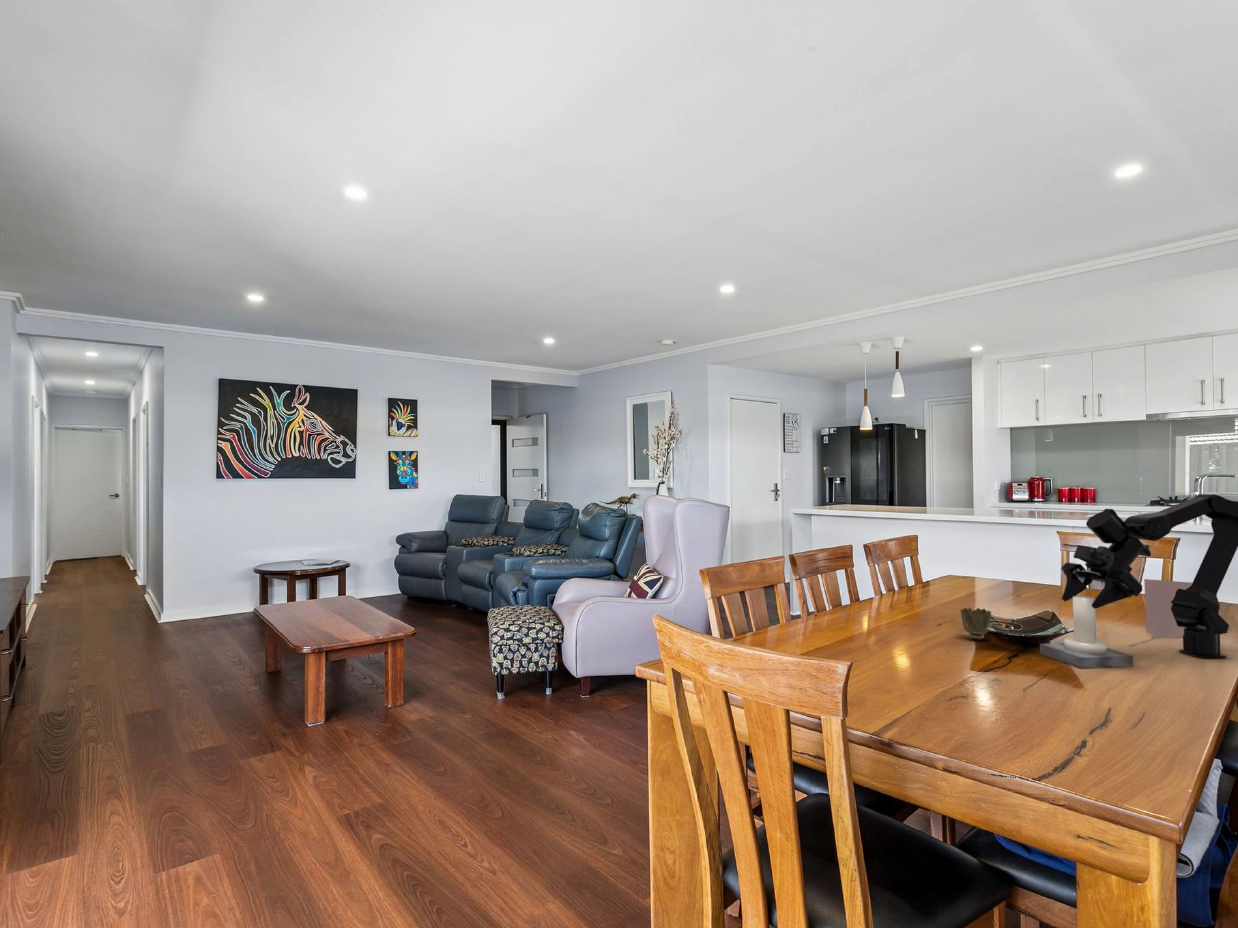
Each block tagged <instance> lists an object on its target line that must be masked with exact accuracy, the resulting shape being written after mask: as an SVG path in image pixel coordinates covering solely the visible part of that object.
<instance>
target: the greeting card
mask: <svg viewBox="0 0 1238 928" xmlns="http://www.w3.org/2000/svg"><path fill="white" fill-rule="evenodd" d="M1192 583H1193V582H1190V581H1187V582H1186V581H1176V580H1161V579H1150V578H1148V579H1147V578H1144V609H1145V611H1144V612H1145V614H1144V615H1145V633H1146V634H1148V633H1149V634H1152V638H1153V637H1154V638H1153V639H1183V635H1184V628H1185V627H1179V626H1177V623H1176V621H1175V618H1174V616H1173V613H1172V612H1171V606H1172V604H1173V603H1171V601H1172V600H1173V599H1174V597H1175V593H1176V591H1177V590H1178V589H1184V590H1186V589H1187V588H1189V587H1190V586H1191V585H1192Z"/></svg>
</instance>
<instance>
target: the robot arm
mask: <svg viewBox="0 0 1238 928" xmlns="http://www.w3.org/2000/svg"><path fill="white" fill-rule="evenodd" d="M1202 516H1205V517H1207V518H1209V519H1211V522H1210V525H1211V529H1212V532H1213V536H1212V539H1211V541H1210V543H1209V545H1208V547H1207V549H1206V553H1205V555H1204V556H1203V559H1202V562H1200V565H1199V568H1198V569H1197V572H1196V574H1195V577H1194V578H1193V581H1192V582H1191V583H1192V585H1191V586H1190V587H1189V588H1187V589H1186V590H1184V589H1178V590H1177V591H1176V593H1175V597H1174V599H1173V600H1172V601H1171V603H1173V604H1172V606H1171V612H1172V613H1173V616H1174V618H1175V621H1176V623H1177V626H1179V627H1185V628H1184V635H1183V638H1182V649H1178V652H1179V653H1182V654H1186V655H1190V656H1192V657H1197V658H1200V659H1222V658H1223V659H1226V658H1227V655H1226V654H1223V653H1222V654H1221V635H1223V634H1227V633H1228V631H1229V627H1230V625H1229V623H1228V622H1227V621H1226V620H1225V619H1224V618H1223V617H1222V616H1221V615H1220V614H1219V612H1220V607H1221V606H1220V602H1219V598H1218V593H1219V589H1220V588H1221V585H1222V583H1223V581H1224V578H1226V577H1225V576H1226V574H1227V572H1228V570H1229V567H1230V566H1231V563H1232V561H1233V558H1234V557H1235V554H1236V552H1237V549H1238V502H1237V501H1234V500H1230V499H1227V498H1225V497H1223V496H1221V495H1218V494H1214V493H1211V494H1210V493H1199V494H1197V495H1195V496H1194V497H1193V498H1192V497H1191V498H1189V499H1187V500H1185V501H1182V502H1179V503H1176V504H1174V505H1171V506H1169V507H1167V508H1164V509H1162V510H1159V511H1156V512H1150V513H1141V514H1135V515H1130V516H1128V517H1127V518H1126V519H1125V520H1123V519H1122V518H1121V517H1120V516H1119V515H1118V514H1117V512H1116V511H1115V510H1114V509H1113V508H1104V510H1102V511H1100V512H1098V513H1096V514H1094V515H1092V516H1090V517H1088V519H1087V520H1086V527H1087V528H1088V529H1089V530H1090V531H1091V532H1092V533H1093V534H1094V535H1095V536H1096V537H1097V538H1098V540H1100V541H1101V542H1102V543H1104V544H1110V545H1109V546H1108V547H1107V546H1103V545H1099V546H1098V547H1093V546H1089V545H1088V546H1087V545H1081V544H1077V547H1076V549H1075V551H1074V554H1073V558H1074V559H1078V560H1081V561H1082V562H1085V564H1084V565H1085V567H1086V568H1088V569H1090V570H1087V569H1086V568H1085V567H1084V566H1083V565H1082V564H1080V563H1077V562H1076V563H1075V562H1065V563H1064V564H1063V565H1062V567H1061V568H1060V569H1061V570H1062V572H1063V574H1064V575H1065V576H1066V584H1065V587H1064V590H1063V594H1062V597H1061V599H1062V601H1063V602H1068V601H1070V600H1071V599H1073V596H1078V595H1079V594H1081V593H1082V592H1084V591H1085V590H1087V589H1088V587H1087V586H1090V585H1091V584H1092V583H1093V581H1094V582H1101V583H1103V584H1104V586H1103V588H1102V589H1101V591H1100V592H1099V593H1098V595H1097V596H1095V600H1094V602H1093V604H1092V607H1093V608H1095V609H1099V608H1101V607H1104V606H1106V605H1109V604H1113V603H1115V602H1118V601H1121V600H1124V599H1127V598H1128V599H1131V598H1132V597H1139V595H1140V594H1141V593H1142V592H1143V584H1141V582H1140V581H1139V580H1138V579H1137V578H1136V577H1135V576H1134V575H1133V574H1132V571H1133V568H1132V567H1131V565H1132V564H1133V563H1134V562H1135V561H1136V560H1137V558H1138V557H1139V556H1144V557H1151V556H1152V553H1151V550H1150V545H1149V544H1144V543H1143V542H1142V541H1141V540H1143V541H1150V542H1151V541H1153V542H1155V541H1160V540H1162V539H1163V538H1164V537H1166V536H1167V535H1170V533H1171V531H1172V529H1173V528H1175V527H1178V526H1179V525H1182V524H1185V523H1186V522H1190V521H1192V520H1194V519H1197V518H1200V517H1202Z"/></svg>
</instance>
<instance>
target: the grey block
mask: <svg viewBox="0 0 1238 928" xmlns="http://www.w3.org/2000/svg"><path fill="white" fill-rule="evenodd" d="M1039 653H1040V655H1042V656H1044V657H1045V656H1046V657H1048V658H1051V659H1052V660H1055V661H1059V662H1062V663H1064V664H1067V665H1070V666H1072V667H1076V668H1079V669H1104V668H1105V669H1107V668H1124V667H1125V668H1126V667H1127V668H1128V667H1129V666H1132V667H1134V657H1133V655H1132V654H1129V653H1125V652H1122V651H1119V650H1115V649H1113V648H1110V647H1107V653H1105V654H1086V653H1079V652H1074V651H1070V650H1067V649H1065V648H1064V642H1059V643H1058V642H1057V643H1056V642H1055V643H1040V644H1039Z"/></svg>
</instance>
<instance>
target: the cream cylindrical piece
mask: <svg viewBox="0 0 1238 928" xmlns="http://www.w3.org/2000/svg"><path fill="white" fill-rule="evenodd" d="M1095 599H1096V597H1093V596H1088V595H1087V596H1086V595H1076V596H1073V598H1072V616H1073V617H1072V619H1073V621H1072V622H1073V636H1071V637H1070V636H1069V637H1064V638H1063V643H1064V648H1065V649H1067V650H1070V651H1074V652H1079V653H1086V654H1105V653H1107V648H1108V643H1107V642H1106V641H1104V640H1100V639H1097V612H1096V611H1097V610H1096V609H1097V608H1096V609H1095V608H1093V607H1092V604H1093V602H1094V600H1095Z"/></svg>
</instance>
